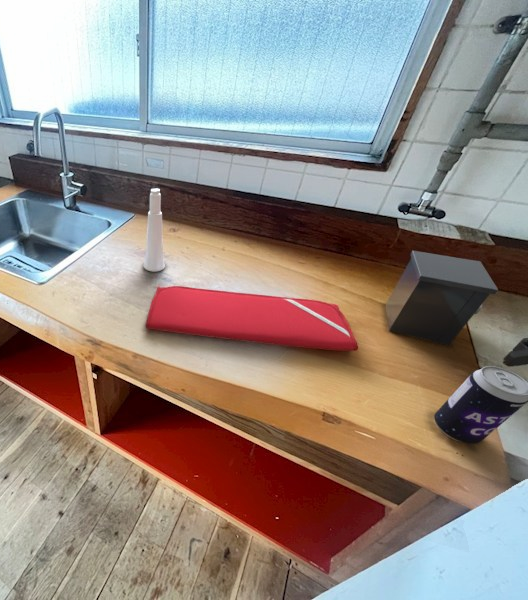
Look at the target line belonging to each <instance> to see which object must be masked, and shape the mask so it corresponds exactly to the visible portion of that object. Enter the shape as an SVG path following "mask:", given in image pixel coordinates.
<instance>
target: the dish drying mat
mask: <svg viewBox="0 0 528 600" xmlns="http://www.w3.org/2000/svg"><path fill="white" fill-rule="evenodd" d="M145 329H149V330H155V331H156V330H157V331H164V332H171V333H177V334H186V335H193V336H200V337H211V338H217V339H226V340H234V341H243V342H252V343H259V344H266V345H267V344H268V345H275V346H283V347H285V346H286V347H295V348H303V349H304V348H306V349H316V350H325V351H326V350H329V351H342V352H343V351H345V352H346V351H347V352H351V351H354V352H356V351H358V350H359V345H358V341H357V339H356V338H355V335H354V333H353V330H352V328H351V326H350V323H349V322H348V320H347V318H346V317H345V315H344V313H343V312H342V311H341V309H340V307H339V305H338V304H335V303H329V302H325V301H322V300H317V299H316V300H315V299H309V298H298V297H297V298H295V297H287V296H274V295H265V294H255V293H246V292H234V291H226V290H216V289H206V288H196V287H191V286H190V287H189V286H182V285H172V286H157V287H156V291H155V295H154V296H153V298H152V300H151V303H150V307H149V310H148V314H147V318H146V322H145Z"/></svg>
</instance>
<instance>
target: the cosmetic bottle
mask: <svg viewBox="0 0 528 600" xmlns="http://www.w3.org/2000/svg"><path fill="white" fill-rule="evenodd" d="M160 191H161V189H160V188H151V189H150V194H149V210H148V212H147V222H146V223H147V225H146V243H145V244H146V245H145V257H144V263H143V268H144V269H145V270H146V271H149V272H160V271H162V270H164V269H165V266H166V264H165V258H164V257H165V256H164V240H163V238H164V237H163V212H162V211H161V201H162V199H161V198H162V195H161V192H160Z"/></svg>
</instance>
